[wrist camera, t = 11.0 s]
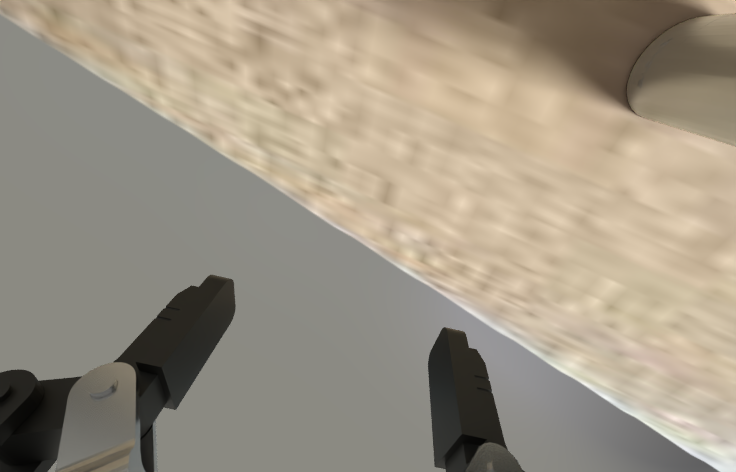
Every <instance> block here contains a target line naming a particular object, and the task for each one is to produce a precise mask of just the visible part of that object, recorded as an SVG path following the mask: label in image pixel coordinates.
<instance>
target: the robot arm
mask: <svg viewBox="0 0 736 472" xmlns="http://www.w3.org/2000/svg"><path fill="white" fill-rule="evenodd" d="M627 98H628V103H629V105H630V107H631V109H632V110H633V111H634V112H635V113H636V114H637V115H639V116H641V117H643V118H646V119H649V120H652V121H655V122H659V123H662V124H665V125H668V126H671V127H674V128H677V129H681V130H684V131H687V132H690V133H693V134H697V135H700V136H703V137H706V138H710V139H713V140H716V141H719V142H722V143H726V144H729V145H732V146H735V147H736V13H733V14H722V15H712V16H702V17H697V18H693V19H689V20H687V21H684V22H682V23H679V24H677V25H675V26H674V27H672V28H670V29H669V30H667V31H665V32H664V33H663V34H662V35H660V36H659V37H658V38H657V39H655V40H654V41H653V42H652V43H651V44H650V45H649V46H648V47H647V48H646V49H645V51H644V52H643V53H642V55H641V56H640V57H639V59H638V60H637V62H636V63H635V65H634V67H633V69H632V71H631V74H630V77H629V80H628V84H627ZM234 313H235V295H234V282H233V280H232V279H229V278H224V277H219V276H215V275H210V276H208V277H207V278H206V279H205V281H204V282H203V283H202V284H201V285H200V286H199V287H196V286H190V287H189V288H187V289H185V290H184V291H182V292H180V293H178V294H177V295H176V296H175V297H174V298H173V299H172V300H171V301H170V303H169V304H168V305H167V306H166V308H165V309H163V310H162V311H161V312H160V313H159V315H158V316H157V318H156V319H154V320H153V321H152V322H151V323H150V324H149V325H148V326H147V328H146V329H145V330H144V331H143V332H142V333H141V334H140V335H139V336H138V337H137V338H136V339H135V341H134V342H133V343H132V344H131V345H130V346H129V347H128V348H127V349H126V350H125V351H124V353H123V354H122V355H121V356H120V357H119V358H118V359H117V360H115V361H114V362H113V363H108V364H105V365H101V366H99V367H97V368H94V369H93V370H91V371H89V372H88V373H86V374H85V375H83V376H81V377H74V378H64V379H54V380H43V381H38V380H37V378H36V377H35V376H34V375H33V374H32V373H31V372H29V371H26V370H10V371H6V372H2V373H0V472H47V471H48V470H49V469H50V468H51V466H52V465H53V464H54V463H55V461H56V460H57V464H56V470H55V472H158V470H157V442H156V421H155V419H156V418H157V416H158V415H159V413H160V412H161V410H162V409H163V407H165V408H170V409H174V410H175V409H177V407H178V406H179V404H180V402H181V401H182V399H183V398H184V396H185V394H186V393H187V391H188V390H189V388H190V387H191V385H192V383H193V382H194V380H195V379H196V377H197V375H198V374H199V372H200V371H201V369H202V367H203V366H204V364H205V363H206V361H207V360H208V358H209V356H210V355H211V353H212V352H213V350H214V349H215V347H216V345H217V343H218V342H219V341H220V339H221V337H222V336H223V334H224V333H225V331H226V330H227V328H228V326H229V325H230V323H231V321H232V319H233V316H234ZM428 372H429V387H430V402H431V417H432V432H433V446H434V462H435V467H438V468H443V469H446V472H524V471H523V470H522V468H521V466H520V464H519V463H518V461H517V460H516V459H515V457H514V456H513V455H512V454H511V453H510V452H509V451H508V449H507V447H506V445H505V442H504V438H503V434H502V430H501V426H500V422H499V417H498V413H497V409H496V406H495V402H494V397H493V394H492V393H491V391H492V389H491V385H490V381H489V380H488V379H489V377H488V373H487V369H486V365H485V362H484V361H483V359H482V358H481V356H480V354H479V353H478V351H477V350H476V349H472V348H469V346H468V342H467V337H466V334H465V332H463V331H459V330H454V329H450V328H445V327H444V328H443V329H442V330H441V332H440V334H439V336H438V338H437V340H436V342H435V344H434V346H433V348H432V350H431V352H430V355H429V361H428Z"/></svg>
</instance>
